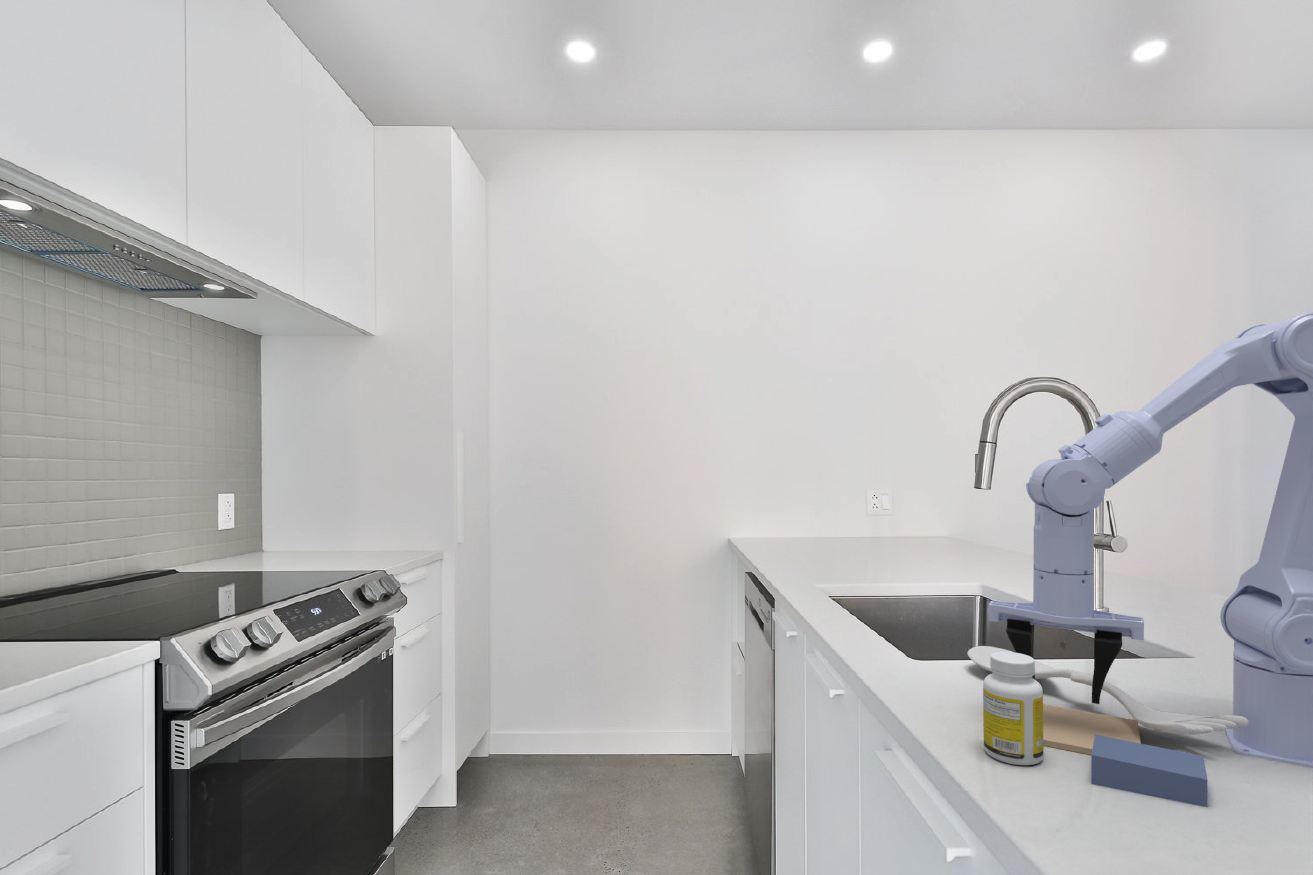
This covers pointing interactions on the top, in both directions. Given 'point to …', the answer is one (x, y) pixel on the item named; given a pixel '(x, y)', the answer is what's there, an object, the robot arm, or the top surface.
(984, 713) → the supplement bottle
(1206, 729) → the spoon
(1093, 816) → the top surface
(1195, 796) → the card box
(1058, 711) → the flat tan board
